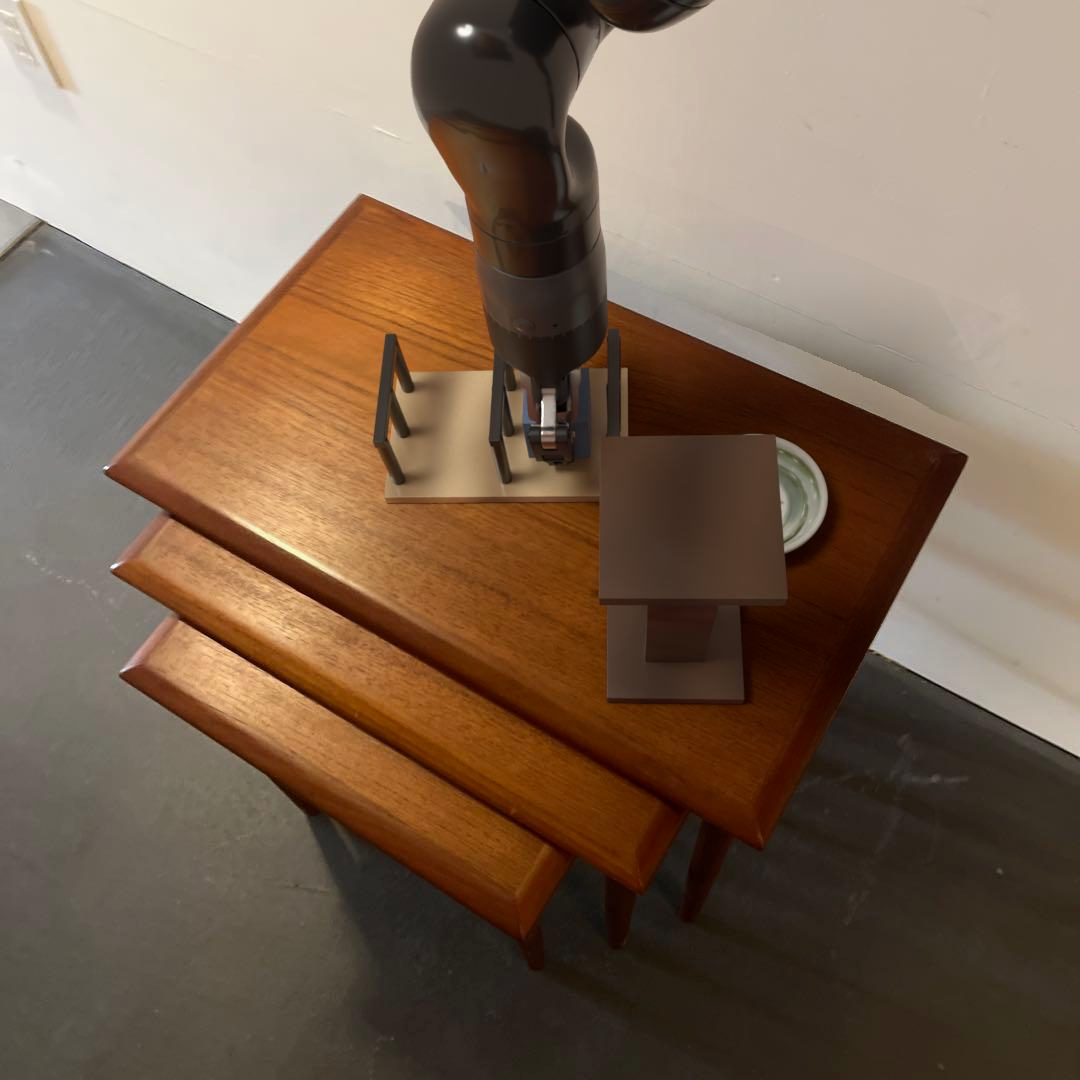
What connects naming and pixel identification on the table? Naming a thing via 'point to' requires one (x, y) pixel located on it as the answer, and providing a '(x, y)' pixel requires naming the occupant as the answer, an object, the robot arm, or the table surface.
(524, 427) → the block
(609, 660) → the stand
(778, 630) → the table surface
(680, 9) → the robot arm
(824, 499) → the saucer
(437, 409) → the rack
